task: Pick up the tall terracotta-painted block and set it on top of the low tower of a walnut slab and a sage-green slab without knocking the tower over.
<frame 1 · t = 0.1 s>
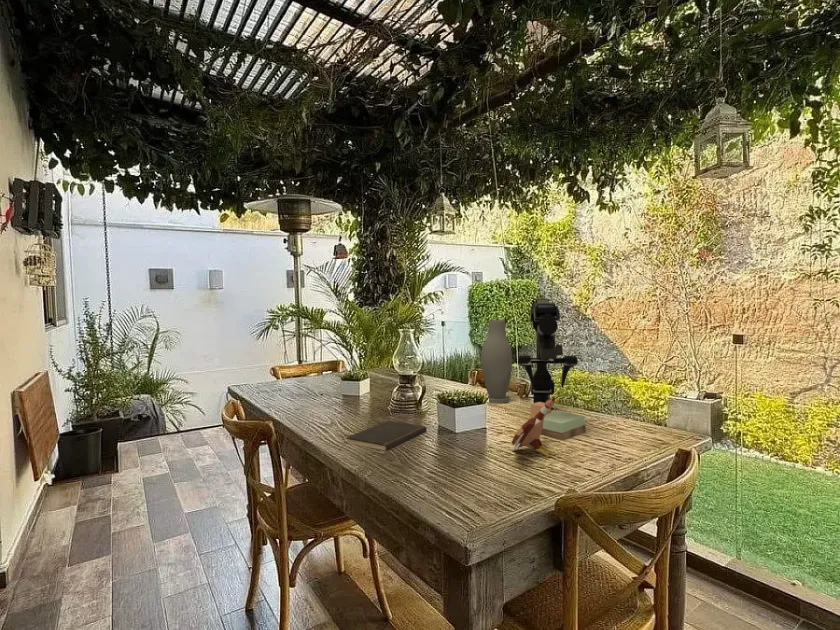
hand: (547, 387, 151), 15 cm above the table, tool pointing down, fingers open, 9 cm apart
sage slab: (560, 425, 153), point 2 cm above the table
vase: (497, 401, 202), on the table
decorative bird: (534, 454, 133), on the table
hardcover book: (387, 439, 153), on the table
terracotta block: (540, 420, 169), on the table
walnut slab: (560, 434, 153), on the table
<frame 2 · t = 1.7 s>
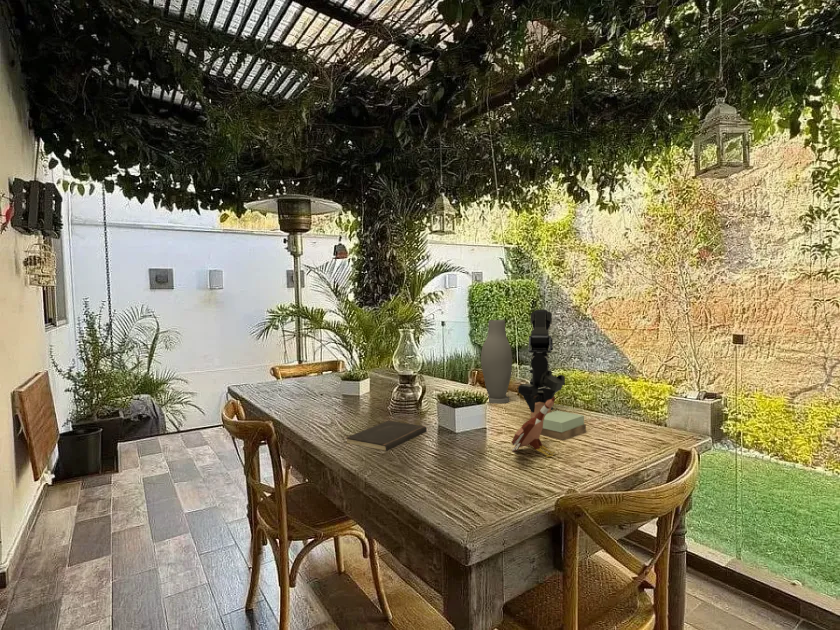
hand: (540, 410, 169), 4 cm above the table, tool pointing down, fingers open, 9 cm apart
sage slab: (559, 425, 153), point 2 cm above the table, touching walnut slab
walnut slab: (561, 434, 153), on the table, touching sage slab
everything else where it was.
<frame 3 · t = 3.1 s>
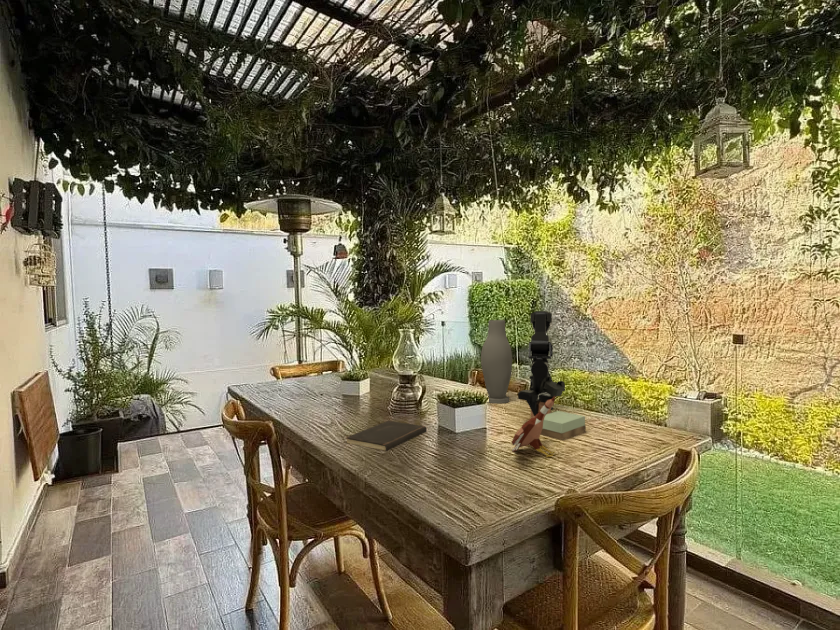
hand: (540, 416, 169), 2 cm above the table, tool pointing down, fingers closed on terracotta block, 5 cm apart
terracotta block: (540, 420, 169), on the table, touching gripper
everything else where it was.
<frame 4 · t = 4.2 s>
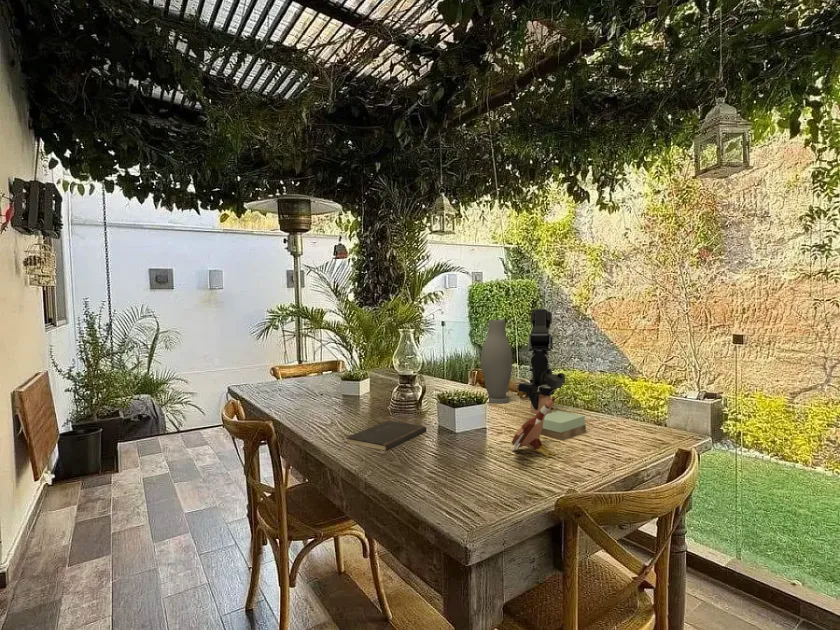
hand: (540, 408, 169), 4 cm above the table, tool pointing down, fingers closed on terracotta block, 5 cm apart
terracotta block: (540, 412, 169), point 3 cm above the table, touching gripper
everything else where it was.
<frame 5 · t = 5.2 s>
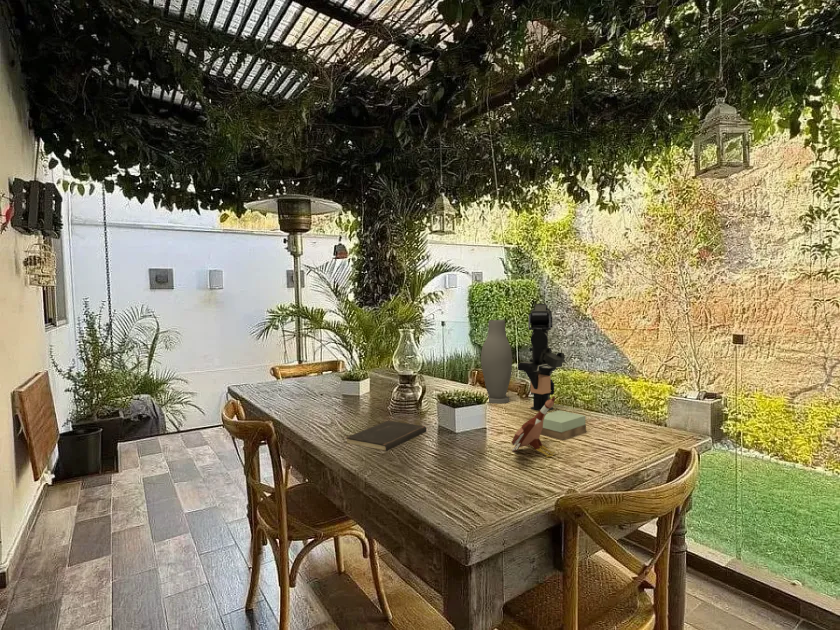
hand: (540, 388, 169), 12 cm above the table, tool pointing down, fingers closed on terracotta block, 5 cm apart
terracotta block: (540, 392, 169), point 10 cm above the table, touching gripper
everything else where it was.
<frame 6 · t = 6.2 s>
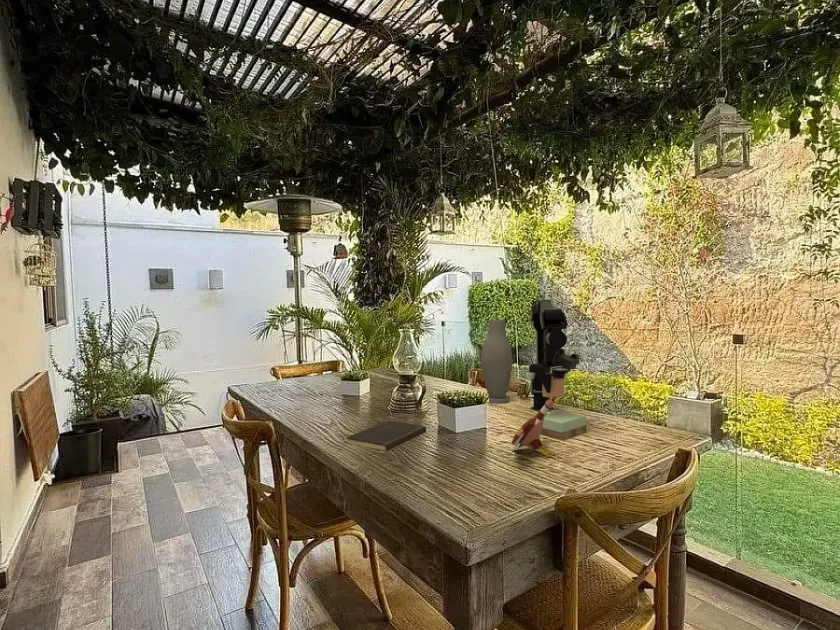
hand: (553, 391, 158), 13 cm above the table, tool pointing down, fingers closed on terracotta block, 5 cm apart
terracotta block: (553, 396, 158), point 11 cm above the table, touching gripper
everything else where it was.
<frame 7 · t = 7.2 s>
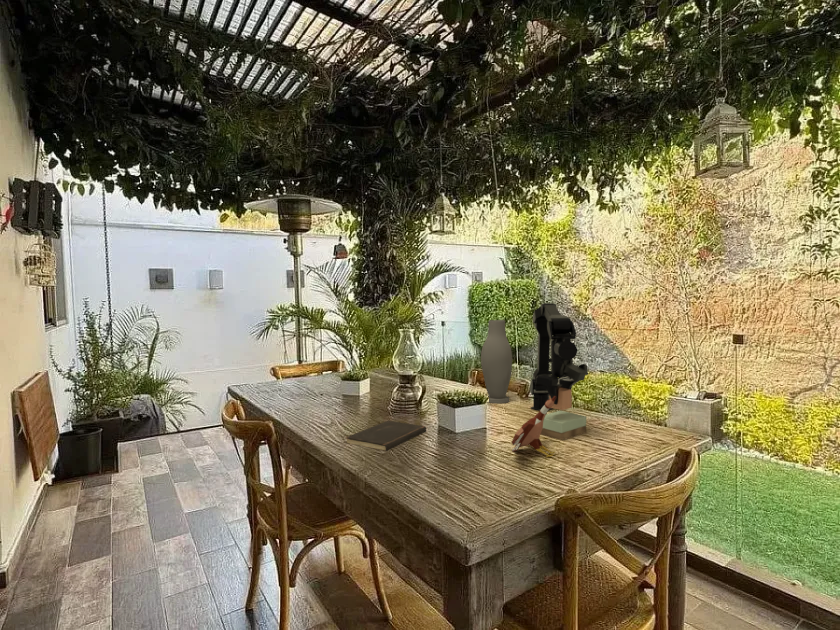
hand: (560, 403, 153), 10 cm above the table, tool pointing down, fingers closed on terracotta block, 5 cm apart
terracotta block: (560, 407, 153), point 8 cm above the table, touching gripper
everything else where it was.
when the fingers open (8 cm above the table, at t = 8.3 s): terracotta block drops 2 cm, point 5 cm above the table.
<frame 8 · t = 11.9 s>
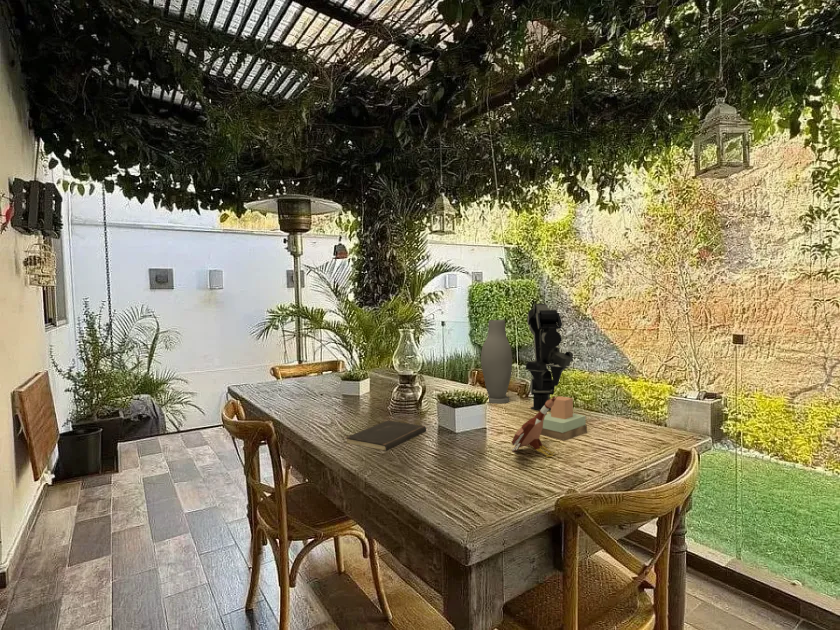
hand: (548, 387, 168), 12 cm above the table, tool pointing down, fingers open, 9 cm apart
terracotta block: (561, 416, 153), point 5 cm above the table
everything else where it was.
at the end: terracotta block 0.4 cm off-centre on the walnut slab, point 6.0 cm above the walnut slab's base; sage slab moved 0.7 cm from its start; terracotta block tilted 0° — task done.
